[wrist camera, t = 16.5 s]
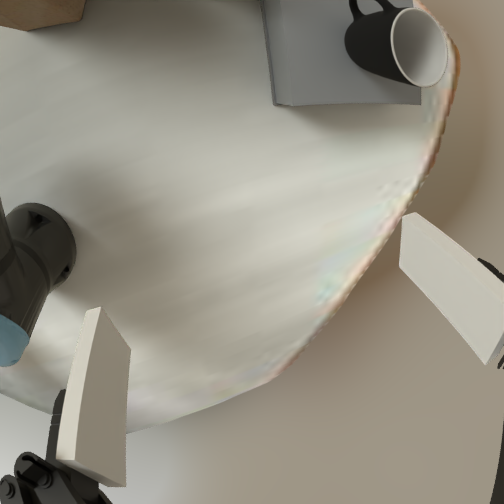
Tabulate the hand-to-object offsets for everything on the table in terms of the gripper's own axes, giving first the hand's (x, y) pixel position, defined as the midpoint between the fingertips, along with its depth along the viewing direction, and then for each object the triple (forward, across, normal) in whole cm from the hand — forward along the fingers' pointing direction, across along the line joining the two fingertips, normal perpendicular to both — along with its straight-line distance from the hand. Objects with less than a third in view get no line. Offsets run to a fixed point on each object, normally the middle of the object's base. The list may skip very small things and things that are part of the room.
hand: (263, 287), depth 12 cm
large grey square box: (+33, +21, +11) cm, 41 cm away
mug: (+25, +21, +12) cm, 34 cm away
